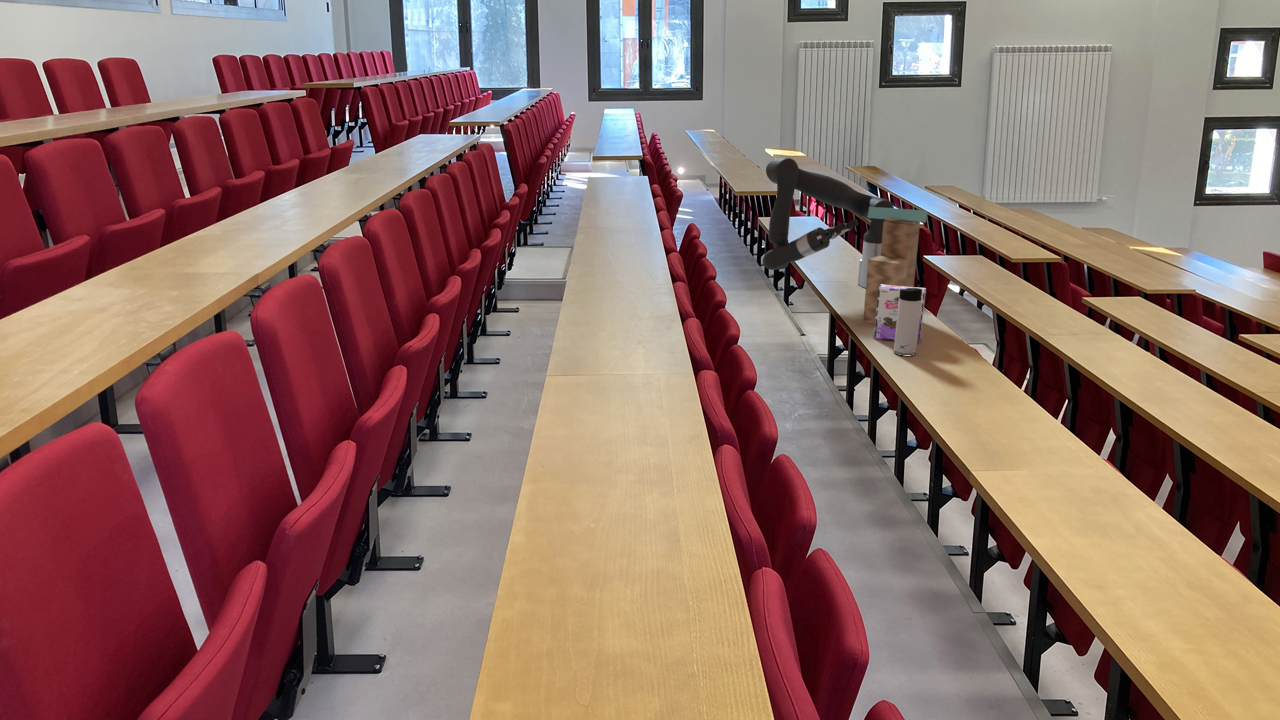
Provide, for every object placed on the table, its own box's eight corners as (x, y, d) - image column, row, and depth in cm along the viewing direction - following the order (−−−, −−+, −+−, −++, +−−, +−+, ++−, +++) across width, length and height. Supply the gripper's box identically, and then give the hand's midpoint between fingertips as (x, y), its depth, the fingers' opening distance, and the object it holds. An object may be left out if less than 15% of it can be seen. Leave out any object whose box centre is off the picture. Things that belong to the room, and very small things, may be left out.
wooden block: (863, 322, 300) (868, 259, 293) (873, 317, 305) (879, 255, 299) (891, 327, 294) (897, 263, 287) (902, 322, 300) (908, 259, 293)
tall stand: (875, 317, 305) (883, 219, 295) (885, 312, 311) (894, 215, 301) (900, 322, 300) (910, 222, 289) (910, 317, 306) (920, 218, 295)
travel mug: (903, 358, 264) (910, 291, 257) (889, 351, 270) (895, 286, 263) (921, 355, 266) (928, 289, 260) (906, 349, 272) (912, 284, 266)
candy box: (873, 339, 281) (877, 287, 276) (875, 334, 287) (879, 283, 282) (919, 344, 277) (925, 291, 272) (921, 338, 282) (926, 287, 277)
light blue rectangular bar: (867, 217, 302) (869, 206, 302) (873, 218, 305) (875, 207, 304) (919, 221, 287) (921, 210, 287) (925, 222, 290) (927, 211, 289)
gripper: (798, 235, 313) (836, 216, 302) (818, 229, 323) (856, 210, 312) (806, 255, 312) (845, 236, 301) (826, 248, 323) (865, 230, 312)
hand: (851, 223), depth 307 cm, fingers open, 8 cm apart
